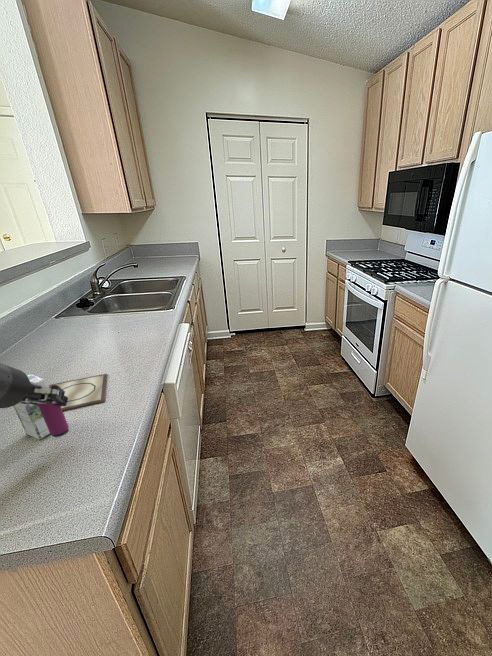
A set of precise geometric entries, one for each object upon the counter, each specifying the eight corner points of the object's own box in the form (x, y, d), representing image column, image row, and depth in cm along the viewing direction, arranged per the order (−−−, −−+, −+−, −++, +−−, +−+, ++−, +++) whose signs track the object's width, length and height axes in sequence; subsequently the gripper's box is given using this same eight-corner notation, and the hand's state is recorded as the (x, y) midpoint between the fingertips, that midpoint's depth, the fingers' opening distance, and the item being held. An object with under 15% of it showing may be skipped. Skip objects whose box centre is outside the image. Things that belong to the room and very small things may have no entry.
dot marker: (49, 439, 73) (31, 397, 68) (52, 430, 76) (35, 389, 71) (68, 434, 75) (52, 393, 70) (70, 426, 78) (55, 385, 73)
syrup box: (50, 421, 87) (29, 373, 80) (64, 427, 84) (43, 378, 78) (26, 434, 82) (2, 383, 76) (40, 441, 80) (16, 389, 73)
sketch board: (37, 417, 89) (36, 414, 88) (49, 386, 103) (49, 384, 103) (105, 402, 95) (104, 400, 94) (107, 374, 109) (107, 372, 109)
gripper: (34, 361, 59) (90, 385, 75) (-47, 362, 59) (27, 386, 75) (24, 403, 57) (84, 418, 73) (-60, 404, 56) (19, 419, 73)
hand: (55, 401), depth 74 cm, fingers closed on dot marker, 3 cm apart
